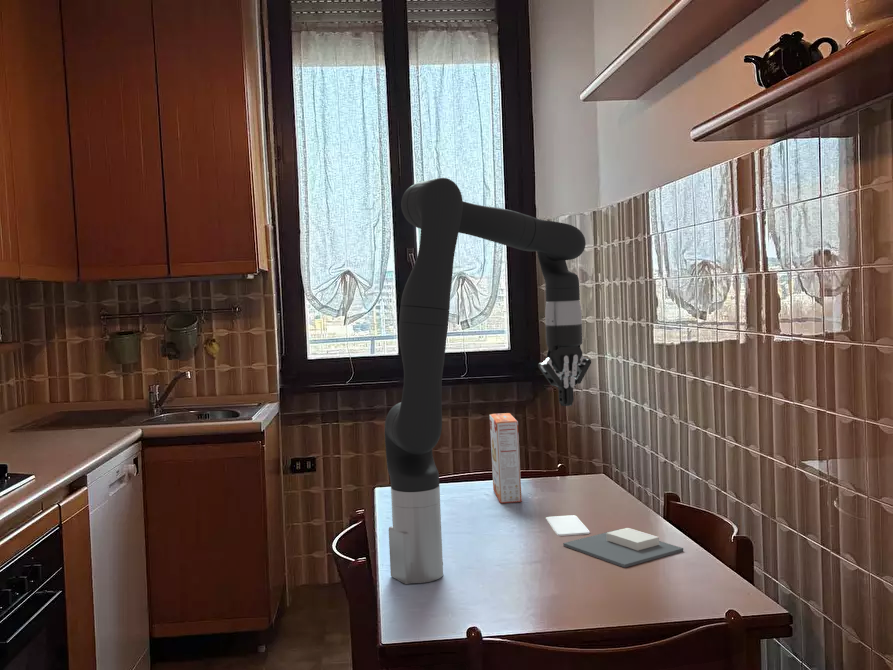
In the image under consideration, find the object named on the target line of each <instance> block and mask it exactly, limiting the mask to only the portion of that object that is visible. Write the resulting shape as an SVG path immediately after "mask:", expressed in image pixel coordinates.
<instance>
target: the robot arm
mask: <svg viewBox="0 0 893 670" xmlns="http://www.w3.org/2000/svg"><path fill="white" fill-rule="evenodd" d="M400 203H401V204H400V207H401V213H402V214H403V217H404V218H405V220H406V221H407V222H408V223H409V224H410V225H411V226H413V227H415V228H418V229H420V236H419V237H420V238H419V246H418V252H417V255H416V260H415V262H414V265H413V266H412V270H411V271H410V274H409V276H408V278H407V281H406V283H405V285H404V289H403V291H402V295H401V300H400V309H399V318H398V319H399V320H398V339H399V349H400V354H401V355H400V356H401V361H402V367H403V387H402V393H401V394H402V395H401V402H398V403H396V404H394V405H393V406H391V408H390V410H389V411H388V412H387V415H386V417H385V422H384V442H385V443H384V445H385V456H386V467H387V473H388V474H389V475H388V476H389V479H390V494H391V495H390V496H391V497H390V498H391V517H392V526H389V527H388V540H389V541H388V543H389V544H388V546H389V567H390V577H392V578H394V579H395V580H396V581H399V582H401V583H402V584H405V585H409V584H424V583H430V582H434V581H436V580H439V579H441V578H442V577H443V575H444V559H443V539H442V538H443V537H442V536H443V535H442V514H441V492H440V491H441V489H440V486H441V485H440V474H439V473H440V472H439V469H438V468H437V465H436V463H435V459H434V456H433V449H434V448H435V447H436V446H437V444H438V442H439V440H440V438H441V434H442V430H443V410H442V409H443V402H442V399H443V398H442V394H443V393H442V389H443V387H442V384H443V383H442V382H443V372H444V365H445V358H446V357H445V356H446V347H447V346H446V343H447V336H448V330H449V329H448V328H449V322H450V321H449V320H450V309H451V308H450V307H451V306H450V305H451V303H450V302H451V293H452V289H451V288H452V283H453V272H454V262H455V261H454V260H455V252H456V246H457V242H458V237H459V234H464V235H468V236H473V237H476V238H480V239H484V240H487V241H490V242H494V243H497V244H499V245H503V246H506V247H510V248H514V249H517V250H520V251H524V252H525V251H526V252H537V259H538V262H539V265H540V269H541V274H542V277H543V279H544V283H545V286H544V287H545V310H544V316H545V317H544V321H545V323H544V324H545V343H546V346H547V352H546V358H545V360H543V362H539V363H538V364H537V367H538V369H539V371H540V372H541V374H542V375H543V376H544V377H545V379H546V380H547V381H548V383H549V384H550V386H554V387H557V389H558V402H559V405H560V406H562V407H570V406H572V405H573V403H574V399H575V398H574V387H575V386H576V385H580V384H581V383H582V382H583V379H584V377H585V375H586V374H587V372H588V369H589V368H590V366H591V364H592V360H591V359H590V358H586V357H585V356H584V355H583V350H582V348H581V345H583V317H582V306H581V297H580V296H581V295H580V293H581V291H580V279H579V276H578V274H576V273H574V272H573V271H569V268H568V265H567V261H570V260H571V261H572V260H575V259H576V258H579V257H580V256H581V255H582V254H583V252H584V251H585V249H586V238H585V236H584V234H583V232H582V231H581V230H580V229H579V228H578V227H577V226H574V225H572V224H570V223H564V222H559V221H555V220H554V221H553V220H544V219H541V218H537V217H535V216H531V215H528V214H525V213H521V212H518V211H515V210H511V209H506V208H502V207H501V208H500V207H494V206H487V205H480V204H476V203H471V202H467V201H464V200H463V196H462V192H461V189H460V188H459V186H458V185H457V183H456V182H455V181H453V180H452V179H449V178H447V177H437V178H431V179H426V180H422V181H419V182H416V183H414V184H411V186H409V187H408V188H407V189H406V190H405V191H404V193H403V194H402V197H401V202H400Z"/></svg>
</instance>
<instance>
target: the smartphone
mask: <svg viewBox="0 0 893 670" xmlns="http://www.w3.org/2000/svg"><path fill="white" fill-rule="evenodd" d="M545 520H546V522H547V523H548V524H549V525H550V528H552V530H553V532H554V534H556V535H557V536H558V537H567V536H583V535H590V533H591V532H590V530H589V529H588V527H587V526H586V525H585V524H584V523H583V522H582V520H580V518H579V517H578V516H577V515H573V514H572V515H571V514H570V515H558V516H557V515H554V516H547V517H545Z"/></svg>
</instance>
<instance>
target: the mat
mask: <svg viewBox="0 0 893 670" xmlns="http://www.w3.org/2000/svg"><path fill="white" fill-rule="evenodd" d="M620 529H621V528H619V529H614V530H610V531H606V532H602V533H598V534H594V535H590V536H587V537H581V538H579V539H574V540H570V541H566V542H563V544H562V545H563V547H565V548H568V549H570V550H574V551H577V552H580V553H582V554H585V555H588V556H590V557H594V558H597V559H599V560H602V561H604V562H608V563H610V564H613V565H616V566H619V567H622V568H624V569H625V568H628V567H631V566H635V565H639V564H642V563H646V562H651V561H653V560H658V559H661V558H664V557H668V556H670V555H675V554H678V553H682V552H684V547H681V546H677V545H674V544H671V543H667V542H665V541H662V540H659V545H657V546H653V547H649V548H646V549H642V550H638V551H637V550H634V549H631V548H628V547H625V546H622V545H619V544H616V543H613V542H610V541H607V535H606V533H608V532H612V531H616V530H620Z"/></svg>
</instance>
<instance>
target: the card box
mask: <svg viewBox="0 0 893 670" xmlns="http://www.w3.org/2000/svg"><path fill="white" fill-rule="evenodd" d="M619 529H620V530H618V529H615V530H616V531H614V530H611V531H612V532H610V531H607V532H608V533H606V532H605V533H606V535H607V541H610V542H613V543H616V544H619V545H622V546H625V547H628V548H631V549H634V550H637V551H638V550H642V549H646V548H649V547H653V546H657V545H659V541H660V536H656V535H653V534H650V533H647V532H643V531H640V530H637V529H634V528H630V527H625V528H619Z"/></svg>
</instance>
